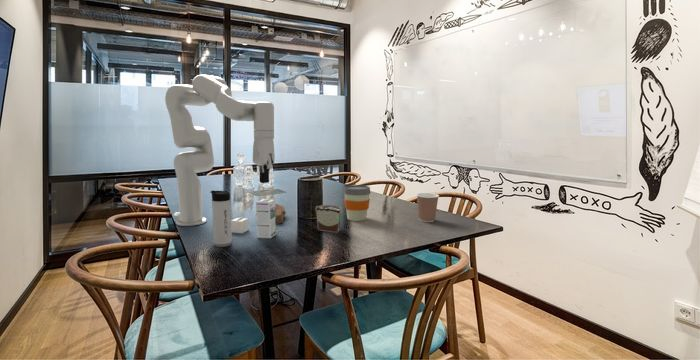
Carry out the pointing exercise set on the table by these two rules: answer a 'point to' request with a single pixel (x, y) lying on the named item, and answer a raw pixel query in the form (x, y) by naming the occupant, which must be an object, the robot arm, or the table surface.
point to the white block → (239, 225)
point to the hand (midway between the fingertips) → (264, 182)
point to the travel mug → (221, 218)
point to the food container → (328, 217)
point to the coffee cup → (427, 206)
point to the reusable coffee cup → (356, 201)
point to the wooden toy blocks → (279, 213)
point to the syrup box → (266, 218)
